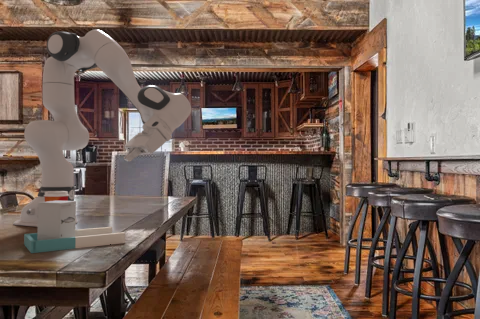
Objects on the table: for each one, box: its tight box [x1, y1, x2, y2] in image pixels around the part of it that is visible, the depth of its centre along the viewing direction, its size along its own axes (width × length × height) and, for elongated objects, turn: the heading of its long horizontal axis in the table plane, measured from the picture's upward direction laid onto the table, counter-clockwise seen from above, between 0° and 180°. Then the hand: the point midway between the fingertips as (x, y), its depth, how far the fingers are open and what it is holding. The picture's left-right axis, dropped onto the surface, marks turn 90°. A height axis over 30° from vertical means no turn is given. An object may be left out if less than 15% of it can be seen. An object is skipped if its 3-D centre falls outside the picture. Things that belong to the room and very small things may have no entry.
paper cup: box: [44, 191, 69, 202], centre depth 133 cm, size 8×8×14 cm
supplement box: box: [36, 200, 77, 240], centre depth 116 cm, size 7×7×13 cm
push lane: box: [23, 226, 126, 254], centre depth 119 cm, size 25×13×3 cm, turn 125°
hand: (126, 160), depth 131 cm, fingers closed
